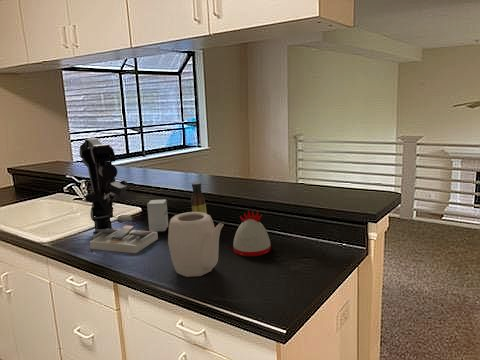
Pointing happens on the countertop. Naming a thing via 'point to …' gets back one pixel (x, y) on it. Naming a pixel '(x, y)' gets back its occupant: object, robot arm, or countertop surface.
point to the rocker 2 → (123, 232)
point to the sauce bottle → (198, 199)
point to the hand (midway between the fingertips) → (108, 213)
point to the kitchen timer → (251, 237)
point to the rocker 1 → (106, 231)
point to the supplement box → (157, 215)
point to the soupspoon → (125, 218)
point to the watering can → (193, 243)
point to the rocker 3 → (141, 233)
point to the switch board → (122, 242)
